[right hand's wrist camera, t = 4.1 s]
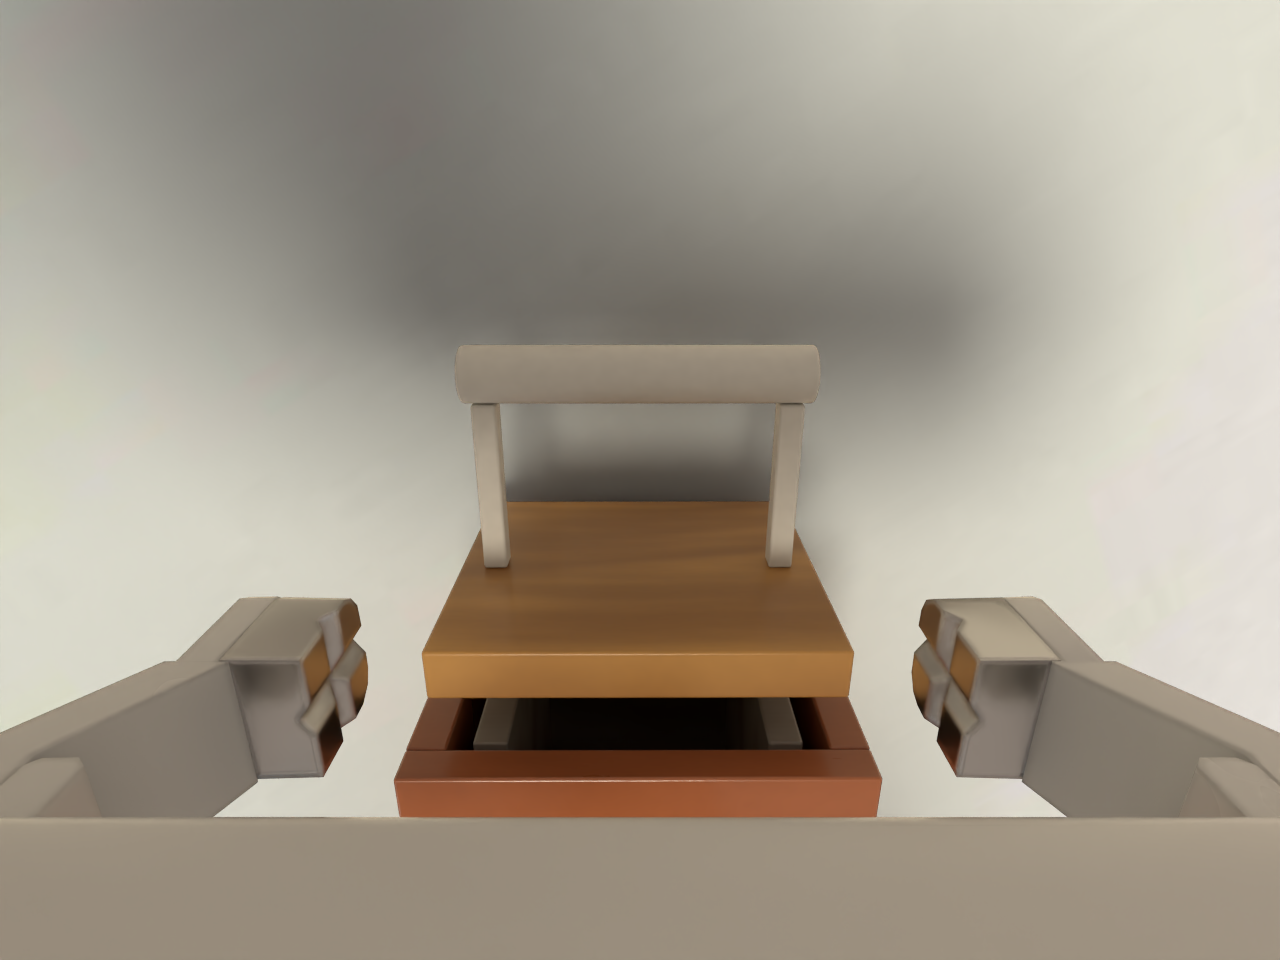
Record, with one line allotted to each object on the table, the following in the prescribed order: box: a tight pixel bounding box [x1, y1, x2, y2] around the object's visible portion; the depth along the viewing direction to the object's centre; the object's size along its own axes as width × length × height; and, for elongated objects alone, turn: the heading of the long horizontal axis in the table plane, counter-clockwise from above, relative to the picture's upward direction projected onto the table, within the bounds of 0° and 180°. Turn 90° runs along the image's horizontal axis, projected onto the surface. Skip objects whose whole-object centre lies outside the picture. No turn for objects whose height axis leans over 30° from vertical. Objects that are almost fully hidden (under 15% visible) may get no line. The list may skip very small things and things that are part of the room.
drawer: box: [422, 345, 854, 750], centre depth 21 cm, size 25×9×8 cm, turn 0°
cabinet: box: [394, 697, 882, 817], centre depth 23 cm, size 20×10×10 cm, turn 0°
